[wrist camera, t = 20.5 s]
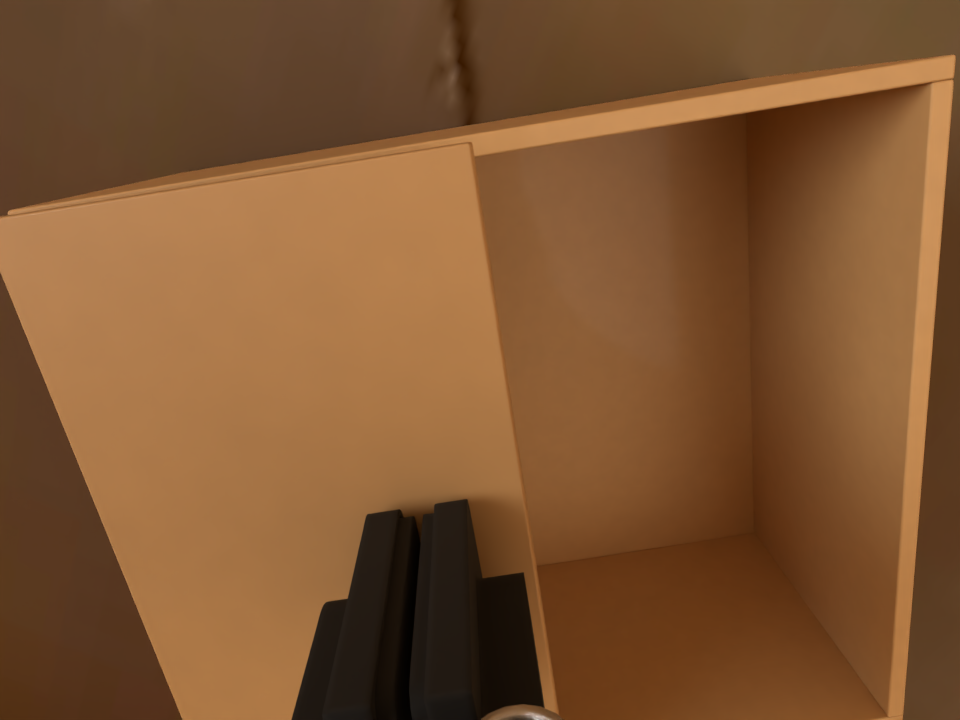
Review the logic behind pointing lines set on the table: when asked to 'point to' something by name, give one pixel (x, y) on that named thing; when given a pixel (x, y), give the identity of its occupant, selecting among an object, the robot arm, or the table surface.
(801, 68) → the table surface
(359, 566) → the robot arm
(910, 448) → the carton
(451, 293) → the flap
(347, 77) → the table surface
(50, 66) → the table surface
